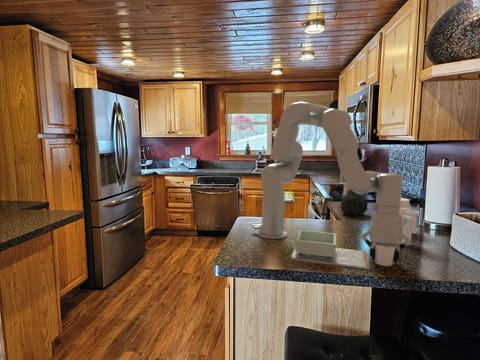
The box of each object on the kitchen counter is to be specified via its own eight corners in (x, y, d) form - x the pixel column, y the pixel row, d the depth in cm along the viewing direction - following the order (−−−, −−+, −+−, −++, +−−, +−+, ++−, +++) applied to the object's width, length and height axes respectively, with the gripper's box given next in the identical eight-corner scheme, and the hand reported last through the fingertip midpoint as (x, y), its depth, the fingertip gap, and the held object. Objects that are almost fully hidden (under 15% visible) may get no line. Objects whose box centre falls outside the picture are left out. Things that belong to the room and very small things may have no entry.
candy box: (354, 204, 208) (355, 182, 206) (358, 206, 204) (359, 183, 202) (342, 205, 206) (343, 182, 205) (345, 206, 202) (347, 183, 200)
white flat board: (290, 259, 111) (291, 257, 111) (296, 245, 126) (296, 243, 126) (370, 269, 103) (370, 267, 103) (366, 253, 118) (366, 251, 118)
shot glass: (385, 268, 105) (386, 248, 104) (368, 261, 111) (369, 241, 110) (398, 264, 108) (400, 245, 107) (381, 257, 114) (383, 239, 113)
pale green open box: (294, 255, 112) (295, 240, 111) (299, 243, 124) (300, 229, 124) (334, 260, 108) (335, 244, 107) (335, 247, 120) (336, 233, 120)
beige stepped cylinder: (393, 241, 134) (396, 206, 132) (409, 241, 134) (412, 206, 132) (403, 246, 127) (406, 210, 125) (420, 246, 127) (423, 210, 125)
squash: (377, 207, 175) (364, 185, 182) (357, 210, 169) (344, 187, 176) (361, 219, 186) (349, 198, 193) (342, 223, 179) (331, 200, 187)
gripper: (361, 209, 106) (357, 260, 108) (418, 214, 101) (413, 267, 103) (359, 205, 113) (356, 253, 115) (413, 209, 108) (409, 259, 110)
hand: (383, 259), depth 109 cm, fingers closed on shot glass, 6 cm apart
